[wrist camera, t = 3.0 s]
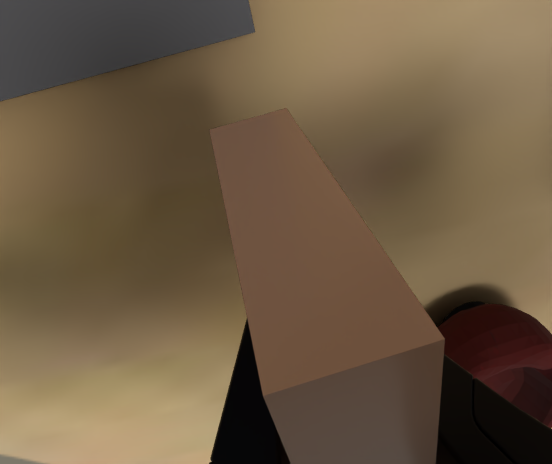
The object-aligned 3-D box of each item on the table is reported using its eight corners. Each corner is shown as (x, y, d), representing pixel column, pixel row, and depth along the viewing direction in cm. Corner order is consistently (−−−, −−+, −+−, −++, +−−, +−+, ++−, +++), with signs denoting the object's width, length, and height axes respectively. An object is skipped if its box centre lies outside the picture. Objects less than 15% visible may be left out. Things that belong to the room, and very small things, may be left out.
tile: (285, 108, 8) (444, 340, 3) (332, 348, 13) (426, 585, 8) (209, 129, 8) (262, 396, 3) (284, 363, 13) (351, 610, 8)
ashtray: (355, 479, 35) (378, 548, 31) (236, 412, 26) (248, 499, 22) (549, 374, 32) (604, 438, 28) (493, 254, 22) (563, 323, 18)
